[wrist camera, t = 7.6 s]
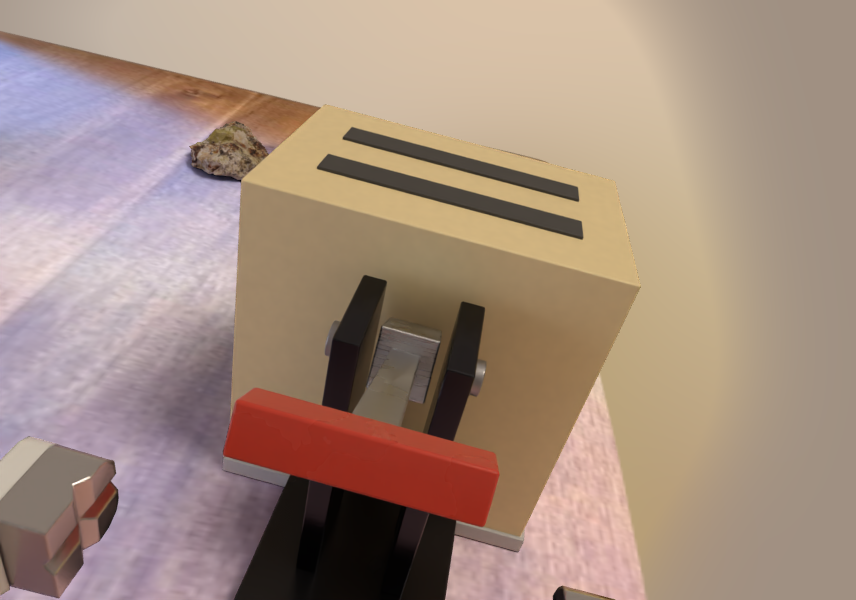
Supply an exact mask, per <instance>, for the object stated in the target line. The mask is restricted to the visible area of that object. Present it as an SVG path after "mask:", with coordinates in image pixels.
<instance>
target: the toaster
mask: <svg viewBox="0 0 856 600" xmlns="http://www.w3.org/2000/svg"><path fill="white" fill-rule="evenodd" d="M364 275H368V276H372V277H375V278H379V279H383V280H386V281H387V287H386V291H385V296H384V301H383V306H382V311H381V315H380V320H379V325H378V330H377V334H376V339H375V344H374V349H373V354H372V358H371V363H370V368H371V364H372V360H373V356H374V353H375V349H376V345H377V341H378V337H379V334H380V330H381V327H382V326H383V324H384V323H385V322H386V321H387V320H388V319H389V318H390V317H393V318H397V319H400V320H404V321H408V322H411V323H415V324H419V325H422V326H426V327H430V328H433V329H437V330H441V331H442V336H441V343H440V347H439V351H438V354H437V358H436V362H435V365H434V369H433V373H432V376H431V380H430V384H429V387H428V391H427V395H426V398H425V402H424V403H423V404H420V403H417V402H413V401H408V404H407V408H406V411H405V414H404V418H403V421H402V424H401V427H403V428H406V429H410V430H414V431H417V432H421V433H423V430H424V427H425V423H426V420H427V417H428V413H429V410H430V406H431V403H432V399H433V396H434V393H435V389H436V386H437V382H438V379H439V376H440V372H441V369H442V365H443V362H444V359H445V355H446V352H447V348H448V345H449V342H450V338H451V335H452V331H453V328H454V325H455V321H456V318H457V314H458V311H459V308H460V304H461V302H462V301H464V302H468V303H472V304H475V305H479V306H483V307H485V316H484V322H483V329H482V335H481V342H480V349H479V355H478V359H481V360H484V361H486V363H487V365H486V372H485V376H484V380H483V384H482V387H481V390H480V393H479V395H478V396H477V397H476V396H472V395H469V397H468V400H467V403H466V406H465V409H464V412H463V415H462V418H461V421H460V424H459V427H458V430H457V433H456V436H455V439H454V442H457V443H461V444H465V445H468V446H472V447H476V448H479V449H483V450H487V451H490V452H493V453H495V454H496V458H497V463H498V468H499V473H500V476H499V480H498V483H497V487H496V490H495V494H494V497H493V501H492V504H491V508H490V511H489V515H488V518H487V521H486V524H485V525H484V527H478V526H475V525H471V524H467V523H464V522H460V521H456V528H455V534H456V535H459V536H463V537H467V538H470V539H474V540H477V541H481V542H485V543H488V544H492V545H496V546H499V547H503V548H506V549H510V550H514V551H517V552H519V550H520V548H521V546H522V544H523V542H524V528H525V526H526V524H527V522H528V520H529V518H530V516H531V514H532V512H533V510H534V507H535V505H536V503H537V501H538V499H539V497H540V495H541V493H542V491H543V489H544V487H545V485H546V483H547V481H548V478H549V476H550V474H551V472H552V470H553V468H554V466H555V464H556V462H557V460H558V458H559V456H560V454H561V451H562V449H563V447H564V445H565V443H566V441H567V439H568V437H569V435H570V433H571V431H572V429H573V427H574V424H575V422H576V420H577V418H578V416H579V414H580V412H581V410H582V408H583V406H584V404H585V402H586V400H587V398H588V395H589V393H590V391H591V389H592V387H593V385H594V383H595V381H596V379H597V377H598V375H599V373H600V371H601V368H602V366H603V364H604V362H605V360H606V358H607V356H608V354H609V351H610V350H611V348H612V346H613V344H614V341H615V339H616V337H617V335H618V333H619V331H620V329H621V327H622V325H623V323H624V320H625V318H626V317H627V315H628V312H629V310H630V308H631V306H632V304H633V302H634V300H635V298H636V296H637V294H638V292H639V289H640V288H641V285H640V281H639V277H638V273H637V269H636V265H635V261H634V257H633V253H632V249H631V245H630V240H629V236H628V232H627V228H626V225H625V220H624V216H623V212H622V208H621V204H620V200H619V196H618V192H617V188H616V184H615V181H613V180H609V179H606V178H602V177H598V176H594V175H590V174H587V173H583V172H579V171H575V170H572V169H567V168H564V167H560V166H556V165H553V164H549V163H545V162H541V161H538V160H534V159H530V158H526V157H522V156H519V155H515V154H511V153H507V152H504V151H500V150H496V149H492V148H488V147H485V146H481V145H477V144H473V143H470V142H466V141H462V140H458V139H455V138H450V137H447V136H443V135H439V134H436V133H432V132H428V131H424V130H420V129H417V128H413V127H409V126H405V125H401V124H398V123H393V122H390V121H387V120H383V119H379V118H375V117H371V116H368V115H363V114H360V113H356V112H352V111H349V110H345V109H341V108H337V107H333V106H330V105H324V106H323V107H321V108H320V109H319V110H318V111H317V112H316V113H315V114H314V115H312V116H311V117H310V118H309V119H308V120H307V121H306V122H305V123H304V124H303V125H301V126H300V127H299V128H298V129H297V130H296V131H295V132H294V133H293V134H291V135H290V136H289V137H288V138H287V139H286V140H285V141H284V142H283V143H281V144H280V145H279V146H278V147H277V148H276V149H275V150H274V151H273V152H271V153H270V154H269V155H268V156H267V157H266V158H265V159H264V160H263V161H261V162H260V163H259V164H258V165H257V166H256V167H255V168H254V169H253V170H251V171H250V172H249V173H248V174H247V175H246V176H245V177H244V178H243V179H242V180H241V198H240V219H239V240H238V261H237V283H236V304H235V325H234V346H233V367H232V389H231V410H230V420H231V416H232V412H233V407H234V403H235V401H236V400H237V399H238V398H240V397H241V396H243V395H244V394H246V393H247V392H248V391H250V390H251V389H253V388H260V389H264V390H268V391H271V392H275V393H279V394H282V395H286V396H290V397H293V398H297V399H300V400H304V401H308V402H311V403H315V404H319V405H322V399H323V393H324V387H325V380H326V374H327V368H328V361H329V356H326V355H325V344H326V340H327V336H328V333H329V330H330V328H331V325H332V323H333V322H334V321H335V320H337V321H341V320H342V318H343V315H344V313H345V311H346V309H347V307H348V305H349V303H350V301H351V299H352V297H353V295H354V293H355V291H356V289H357V287H358V285H359V283H360V281H361V279H362V277H363V276H364ZM370 368H369V372H370ZM368 376H369V373H368ZM367 379H368V378H367ZM366 383H367V382H366ZM366 390H367V388H366V387H365V391H366ZM364 393H365V392H364ZM223 470H225V471H228V472H232V473H236V474H239V475H243V476H246V477H250V478H254V479H257V480H261V481H264V482H268V483H272V484H275V485H279V486H282V487H285V485H286V483H287V480H288V478H289V476H290V474H286V473H283V472H279V471H276V470H272V469H268V468H265V467H261V466H257V465H254V464H250V463H247V462H243V461H239V460H236V459H232V458H229V457H225V456H224V457H223Z"/></svg>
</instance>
